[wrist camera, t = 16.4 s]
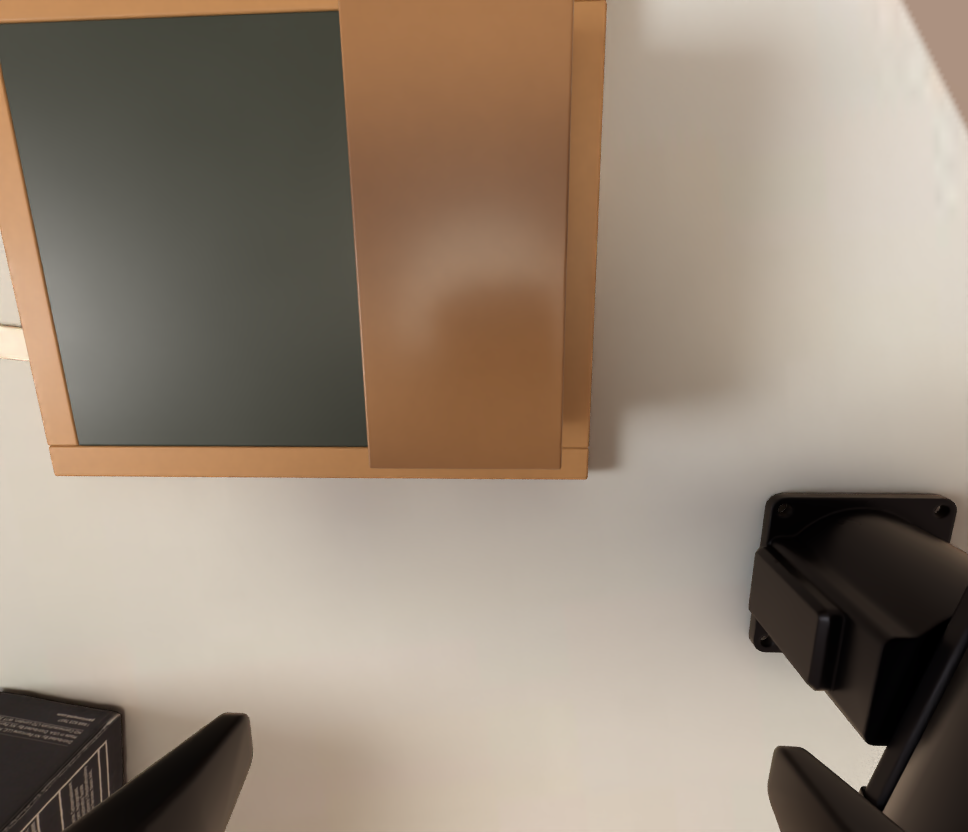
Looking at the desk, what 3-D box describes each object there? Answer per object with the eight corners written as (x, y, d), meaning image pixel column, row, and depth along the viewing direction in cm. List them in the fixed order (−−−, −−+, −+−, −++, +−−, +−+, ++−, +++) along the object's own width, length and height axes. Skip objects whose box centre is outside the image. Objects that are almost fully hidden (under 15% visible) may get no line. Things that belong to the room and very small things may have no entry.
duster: (547, 424, 17) (561, 470, 13) (405, 424, 18) (368, 469, 13) (554, 29, 15) (577, -98, 10) (386, 35, 15) (331, -86, 10)
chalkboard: (602, -29, 15) (609, -51, 14) (583, 470, 19) (588, 480, 18) (-23, -2, 16) (-57, -22, 15) (76, 468, 20) (53, 476, 19)
